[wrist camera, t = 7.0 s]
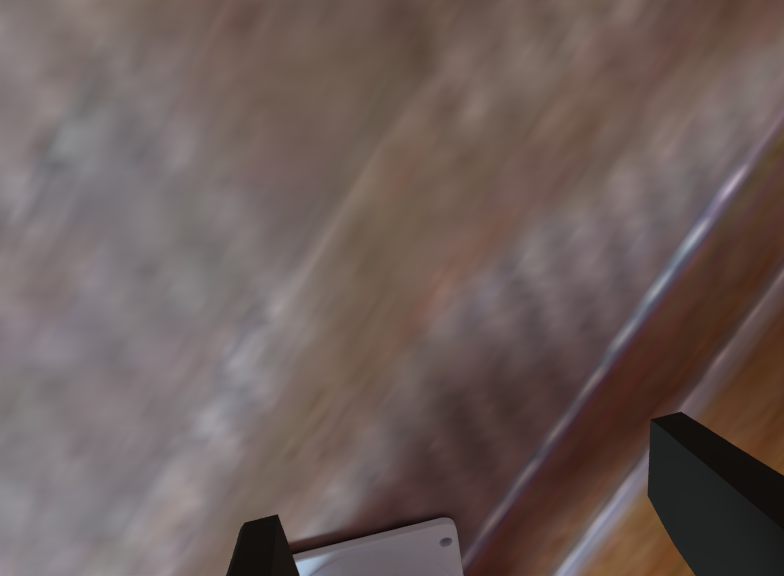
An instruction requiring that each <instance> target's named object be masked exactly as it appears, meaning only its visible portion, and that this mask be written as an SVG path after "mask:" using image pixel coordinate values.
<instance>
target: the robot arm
mask: <svg viewBox="0 0 784 576" xmlns="http://www.w3.org/2000/svg"><path fill="white" fill-rule="evenodd" d="M648 497H649V499H650V501H651V503H652V505H653V507H654V508H655V510H656V512H657V514H658V516H659V518H660V520H661V522H662V524H663V525H664V527H665V529H666V531H667V532H668V534H669V536H670V538H671V540H672V541H673V543H674V545H675V546H676V548H677V549H678V551H679V552H680V554H681V555H682V557H683V558H684V560H685V561H686V562H687V564H688V565H689V567H690V568H691V570H692V571H693V572H694V574H695V575H696V576H784V476H783V475H782V474H780V473H778V472H777V471H775V470H773V469H772V468H770V467H768V466H767V465H765V464H763V463H762V462H760V461H759V460H757V459H755V458H754V457H752V456H750V455H749V454H747V453H746V452H744V451H742V450H741V449H739V448H738V447H736V446H734V445H733V444H731V443H730V442H728V441H727V440H725V439H723V438H722V437H720V436H719V435H717V434H716V433H714V432H712V431H711V430H709V429H708V428H706V427H705V426H703V425H701V424H700V423H698V422H697V421H695V420H693V419H692V418H690V417H689V416H687V415H685V414H684V413H682V412H678V413H674V414H670V415H666V416H663V417H659V418H655V419H651V425H650V450H649V475H648ZM443 538H445V539H443ZM226 576H463V569H462V562H461V556H460V549H459V543H458V536H457V529H456V526H455V523H454V521H453V520H452V519H450V518H446V517H444V518H438V519H434V520H430V521H426V522H422V523H418V524H414V525H410V526H406V527H402V528H398V529H394V530H390V531H386V532H382V533H378V534H374V535H370V536H366V537H362V538H358V539H354V540H350V541H346V542H342V543H338V544H334V545H330V546H326V547H322V548H318V549H314V550H310V551H306V552H302V553H298V554H294V555H292V552H291V550H290V547H289V544H288V541H287V539H286V536H285V533H284V530H283V528H282V525H281V522H280V519H279V517H278V514H277V515H273V516H269V517H265V518H261V519H258V520H254V521H250V522H246V523H244V525H243V526H242V527H241V529H240V532H239V536H238V539H237V543H236V546H235V549H234V553H233V556H232V559H231V562H230V565H229V568H228V572H227V575H226Z"/></svg>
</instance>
